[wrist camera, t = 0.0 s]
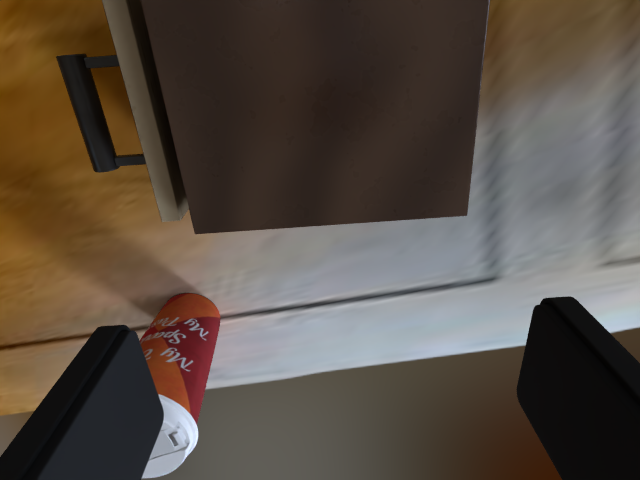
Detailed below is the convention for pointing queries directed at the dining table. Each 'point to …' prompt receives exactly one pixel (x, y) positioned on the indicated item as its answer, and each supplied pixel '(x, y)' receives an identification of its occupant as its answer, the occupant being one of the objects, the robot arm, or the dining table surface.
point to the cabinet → (320, 107)
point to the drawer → (144, 103)
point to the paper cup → (179, 374)
